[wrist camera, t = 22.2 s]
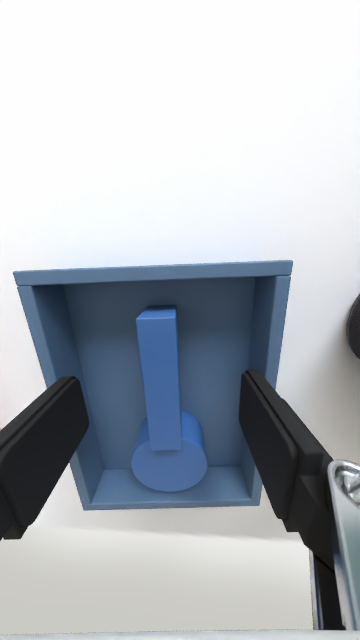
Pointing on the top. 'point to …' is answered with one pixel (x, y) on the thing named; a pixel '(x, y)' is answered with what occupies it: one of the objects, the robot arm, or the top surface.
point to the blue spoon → (165, 410)
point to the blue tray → (126, 374)
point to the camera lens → (354, 328)
